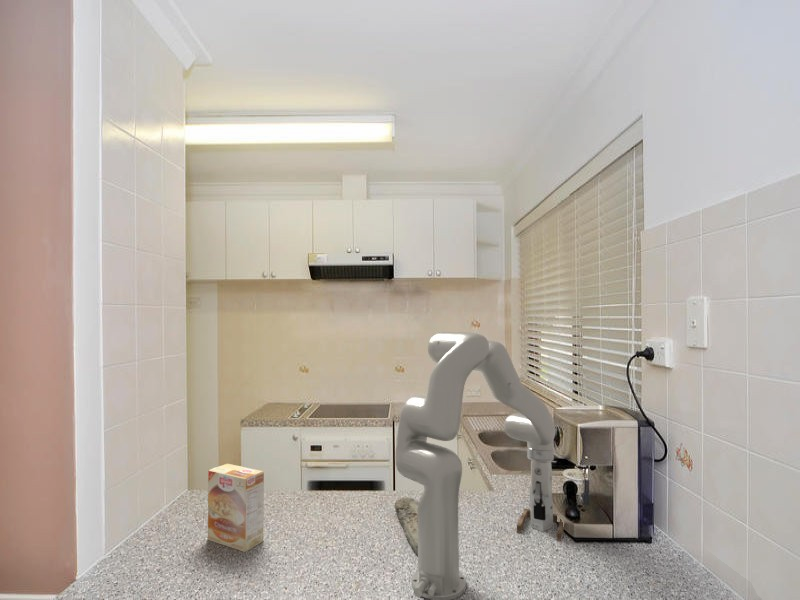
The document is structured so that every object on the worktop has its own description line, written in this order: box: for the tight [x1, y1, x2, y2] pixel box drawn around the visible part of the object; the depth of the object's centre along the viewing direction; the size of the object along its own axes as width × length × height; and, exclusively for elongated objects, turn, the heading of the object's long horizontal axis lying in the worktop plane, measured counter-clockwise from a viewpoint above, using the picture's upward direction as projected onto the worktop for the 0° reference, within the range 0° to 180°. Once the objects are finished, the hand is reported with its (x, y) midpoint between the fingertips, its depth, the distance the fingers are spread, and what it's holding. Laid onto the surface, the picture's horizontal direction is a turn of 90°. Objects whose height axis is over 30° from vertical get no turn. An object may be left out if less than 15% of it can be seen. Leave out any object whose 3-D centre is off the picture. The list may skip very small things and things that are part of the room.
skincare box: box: [529, 485, 554, 533], centre depth 131 cm, size 6×4×12 cm
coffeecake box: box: [207, 463, 265, 553], centre depth 124 cm, size 15×7×20 cm, turn 62°
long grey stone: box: [394, 496, 419, 556], centre depth 130 cm, size 35×5×10 cm
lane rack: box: [516, 508, 565, 542], centre depth 130 cm, size 12×12×2 cm
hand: (541, 513), depth 131 cm, fingers closed on skincare box, 6 cm apart
